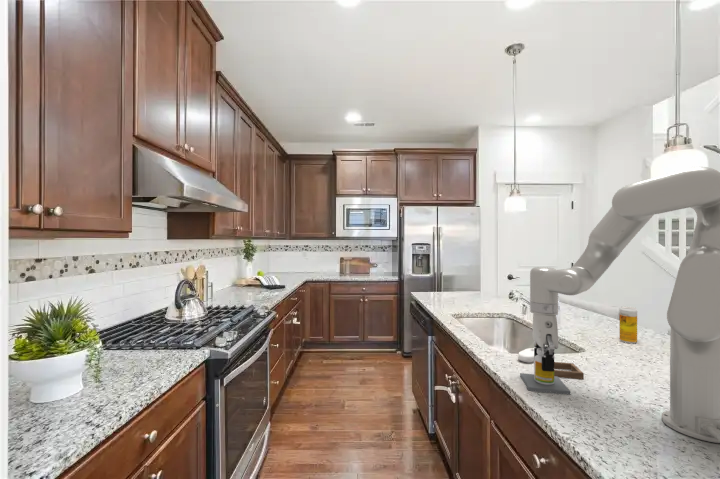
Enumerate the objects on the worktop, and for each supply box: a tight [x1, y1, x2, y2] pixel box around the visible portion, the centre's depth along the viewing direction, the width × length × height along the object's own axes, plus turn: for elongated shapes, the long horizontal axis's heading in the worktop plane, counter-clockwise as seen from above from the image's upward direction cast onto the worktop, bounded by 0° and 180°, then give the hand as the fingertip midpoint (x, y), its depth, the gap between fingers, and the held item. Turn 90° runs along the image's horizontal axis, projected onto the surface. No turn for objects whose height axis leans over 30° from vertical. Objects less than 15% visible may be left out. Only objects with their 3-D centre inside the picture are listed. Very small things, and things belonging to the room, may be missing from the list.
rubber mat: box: [519, 372, 571, 396], centre depth 104 cm, size 11×11×1 cm
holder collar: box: [554, 361, 585, 380], centre depth 113 cm, size 9×9×2 cm
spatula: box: [517, 345, 548, 364], centre depth 132 cm, size 28×6×3 cm, turn 132°
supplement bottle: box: [533, 348, 554, 385], centre depth 104 cm, size 5×5×10 cm
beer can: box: [619, 305, 638, 344], centre depth 149 cm, size 6×6×15 cm
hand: (543, 365), depth 104 cm, fingers open, 7 cm apart
